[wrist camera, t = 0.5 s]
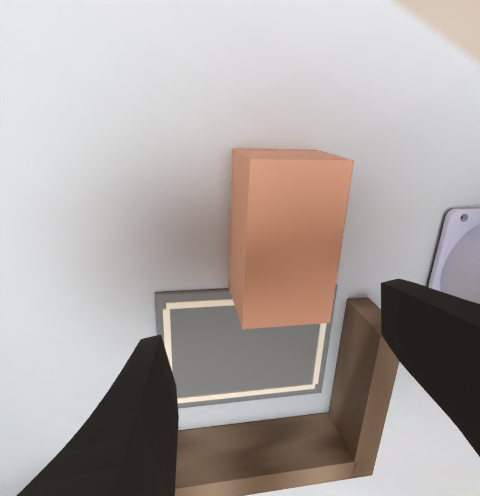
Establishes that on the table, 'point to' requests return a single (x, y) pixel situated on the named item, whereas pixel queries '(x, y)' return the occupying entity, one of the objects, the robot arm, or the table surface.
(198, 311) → the pad
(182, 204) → the table surface
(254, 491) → the corner wall
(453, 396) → the robot arm
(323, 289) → the terracotta block
